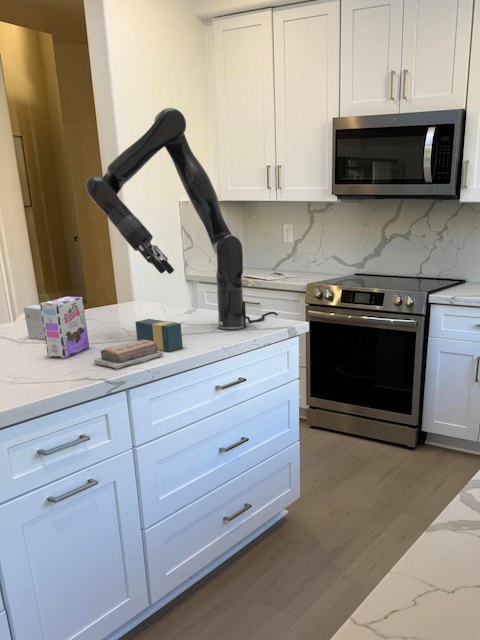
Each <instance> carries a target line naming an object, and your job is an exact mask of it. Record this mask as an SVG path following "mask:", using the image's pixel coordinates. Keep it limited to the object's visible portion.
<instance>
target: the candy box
mask: <svg viewBox="0 0 480 640" xmlns="http://www.w3.org/2000/svg"><path fill="white" fill-rule="evenodd" d="M39 305H40V307H41V314H42V320H43V327H44V334H45V346H46V352H47V357H48V358H56V359H57V358H58V359H66V358H68V357H71V356H74V355H76V354H78V353H81V352H83V351H86V350H88V349H90V344H89V336H88V328H87V321H86V315H85V307H84V298H83V297H82V296H64V297H60V298H57V299H53V300H48V301H45V302H44V301H43V302H40V303H39Z"/></svg>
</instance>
